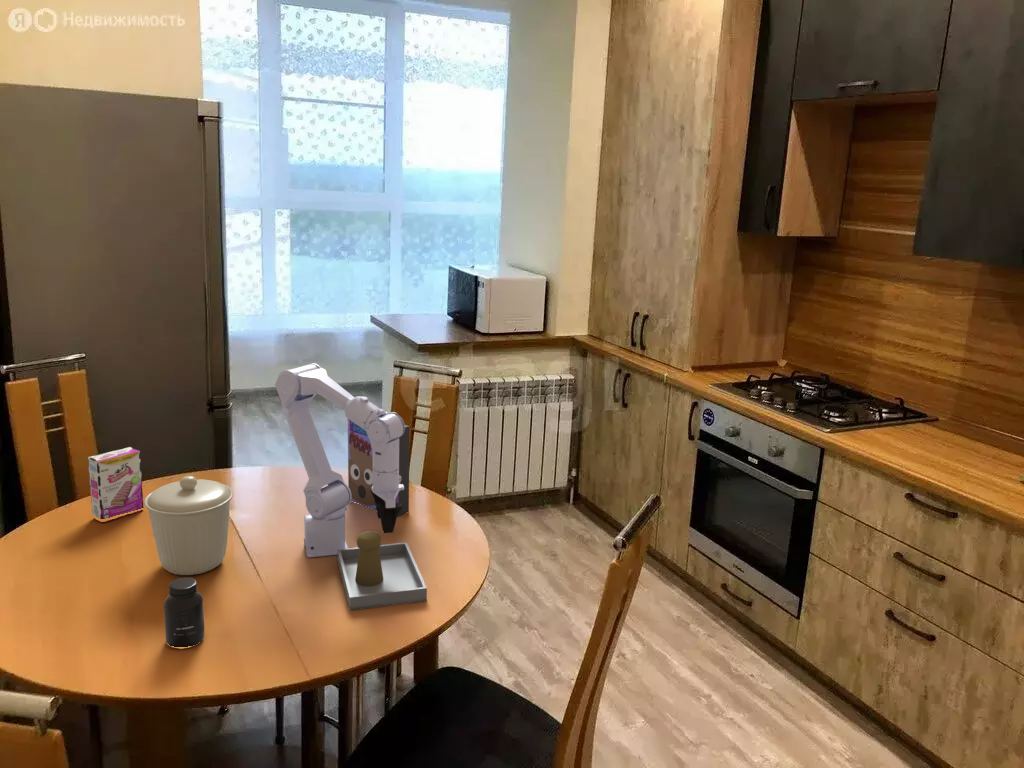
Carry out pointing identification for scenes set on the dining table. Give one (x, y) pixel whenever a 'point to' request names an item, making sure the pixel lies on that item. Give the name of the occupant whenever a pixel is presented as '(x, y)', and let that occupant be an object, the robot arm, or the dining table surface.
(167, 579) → the dining table surface
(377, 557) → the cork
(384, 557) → the box
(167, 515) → the canister
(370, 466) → the cereal box
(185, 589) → the supplement bottle
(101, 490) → the candy bar box
